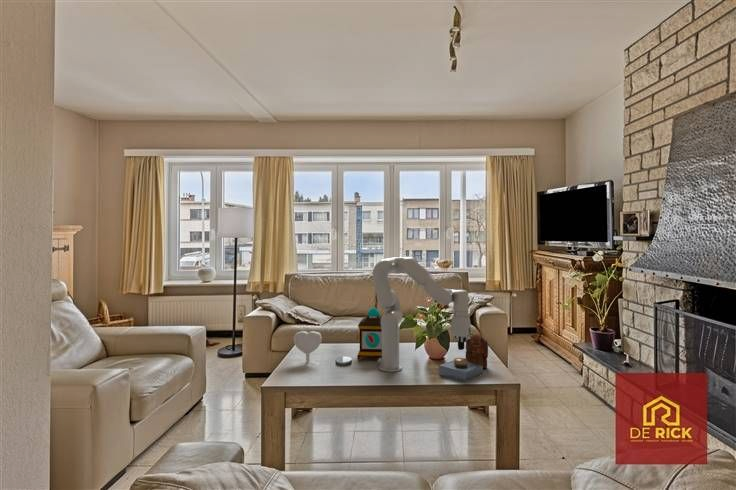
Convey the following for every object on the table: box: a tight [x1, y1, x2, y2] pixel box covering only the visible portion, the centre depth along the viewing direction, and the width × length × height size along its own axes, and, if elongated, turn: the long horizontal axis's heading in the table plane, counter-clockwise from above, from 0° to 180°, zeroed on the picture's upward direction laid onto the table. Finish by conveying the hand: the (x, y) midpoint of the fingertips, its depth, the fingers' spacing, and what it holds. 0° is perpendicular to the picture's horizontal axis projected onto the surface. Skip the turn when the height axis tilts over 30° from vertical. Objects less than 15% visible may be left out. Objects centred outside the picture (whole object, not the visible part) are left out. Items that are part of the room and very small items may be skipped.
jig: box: [438, 359, 484, 383], centre depth 219 cm, size 16×16×5 cm
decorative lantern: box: [356, 307, 382, 362], centre depth 252 cm, size 20×20×30 cm
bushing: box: [453, 357, 467, 367], centre depth 219 cm, size 7×7×8 cm
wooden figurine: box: [465, 334, 489, 369], centre depth 231 cm, size 12×6×18 cm, turn 79°
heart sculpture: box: [293, 330, 323, 366], centre depth 240 cm, size 16×5×18 cm, turn 87°
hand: (461, 349), depth 218 cm, fingers closed
